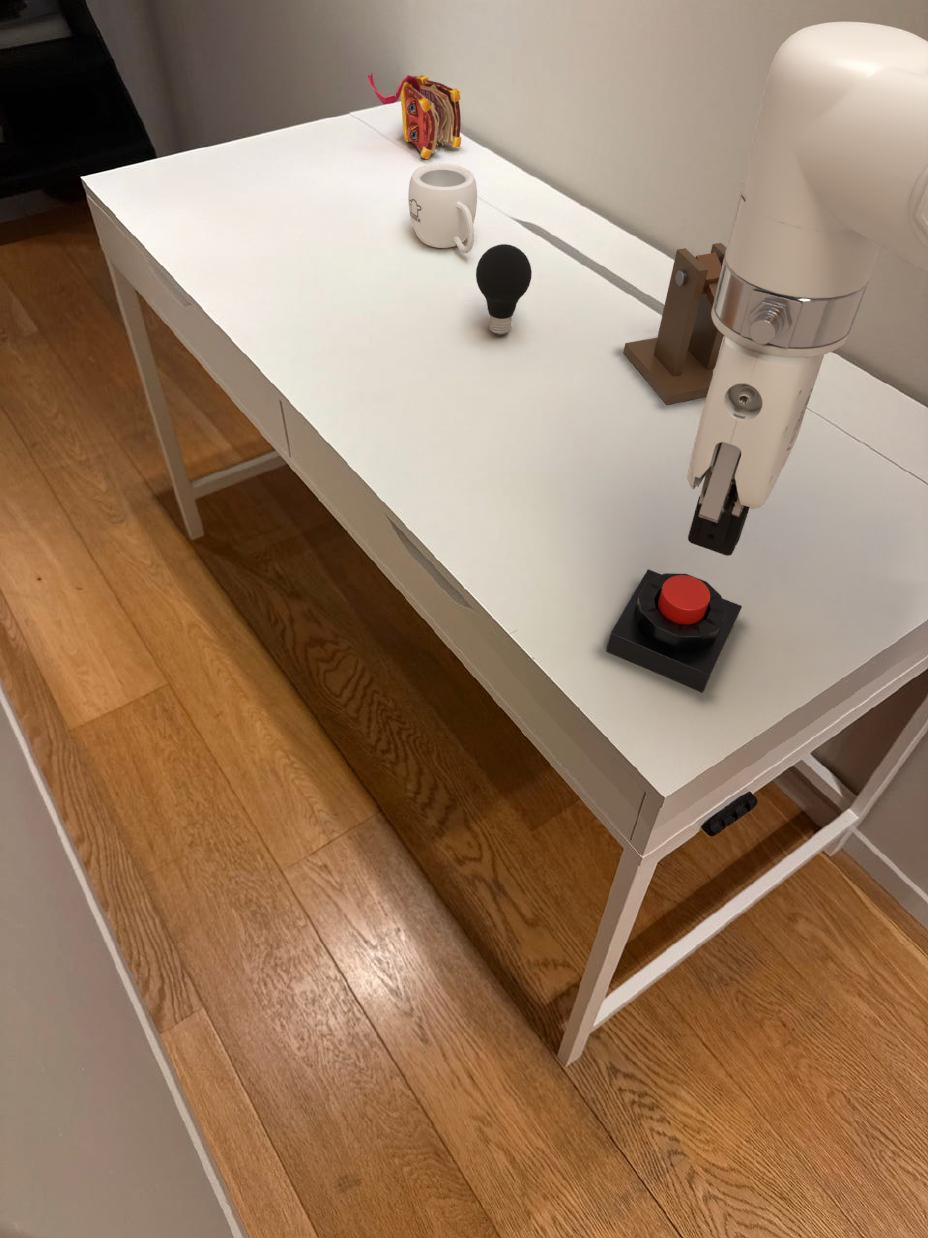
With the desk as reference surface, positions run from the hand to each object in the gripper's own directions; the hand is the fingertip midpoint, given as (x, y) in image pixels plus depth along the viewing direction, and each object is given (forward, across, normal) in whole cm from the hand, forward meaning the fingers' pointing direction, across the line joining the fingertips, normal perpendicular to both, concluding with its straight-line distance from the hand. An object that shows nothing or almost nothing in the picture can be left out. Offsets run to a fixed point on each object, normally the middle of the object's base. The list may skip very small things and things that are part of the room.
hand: (712, 542), depth 62 cm
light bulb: (+10, +32, +33) cm, 47 cm away
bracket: (+10, +36, +13) cm, 40 cm away
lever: (+3, +33, +9) cm, 35 cm away
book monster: (+9, +70, +67) cm, 97 cm away
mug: (+10, +47, +48) cm, 68 cm away
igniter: (+11, 0, +1) cm, 11 cm away
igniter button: (+7, 0, +1) cm, 7 cm away
